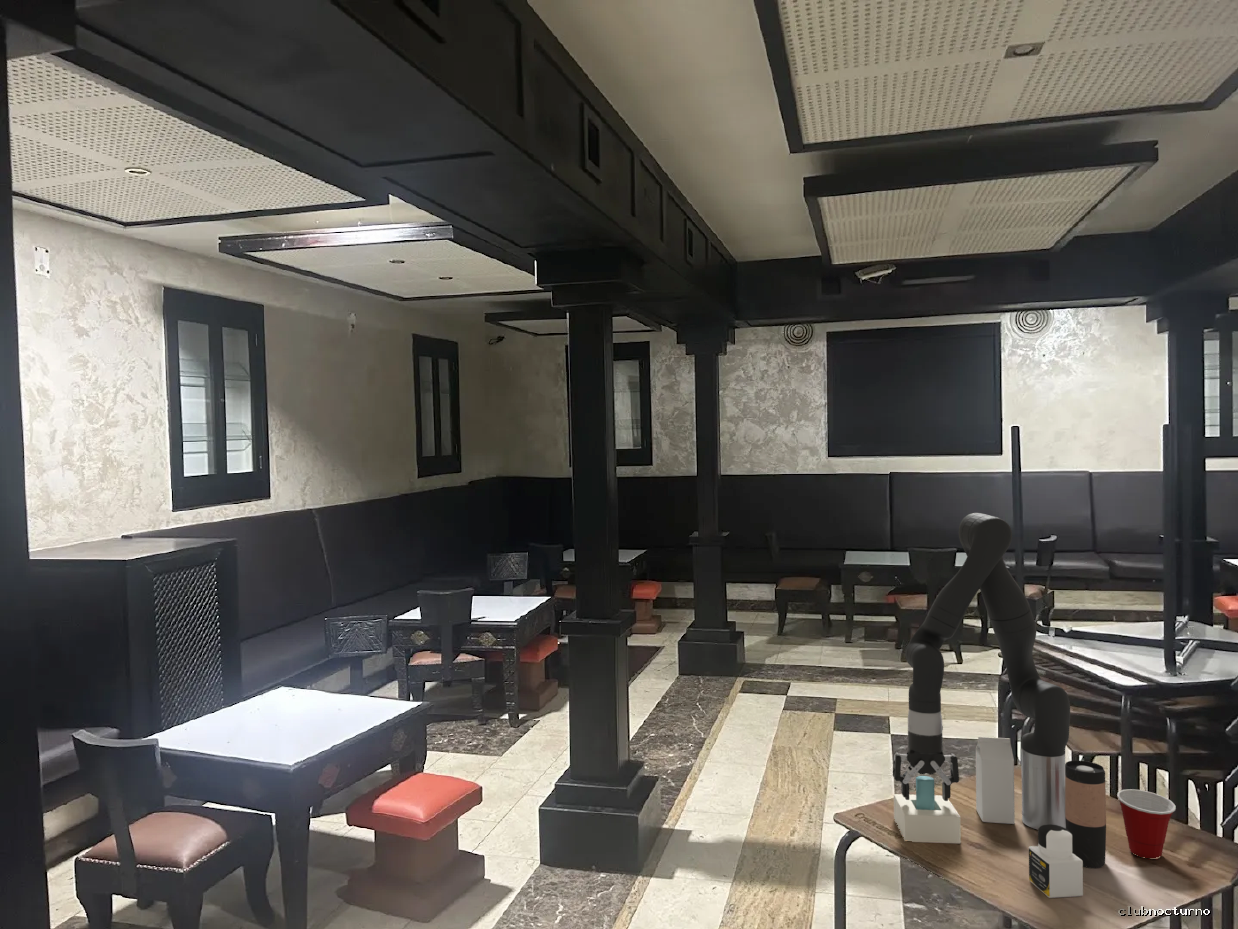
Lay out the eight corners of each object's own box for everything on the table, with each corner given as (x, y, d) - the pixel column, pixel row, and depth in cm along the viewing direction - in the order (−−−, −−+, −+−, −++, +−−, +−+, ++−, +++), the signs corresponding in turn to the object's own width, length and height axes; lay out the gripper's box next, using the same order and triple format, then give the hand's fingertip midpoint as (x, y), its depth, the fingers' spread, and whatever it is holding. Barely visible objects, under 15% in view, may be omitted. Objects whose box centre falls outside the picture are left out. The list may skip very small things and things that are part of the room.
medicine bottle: (1028, 881, 174) (1027, 822, 174) (1061, 879, 174) (1061, 820, 174) (1048, 899, 167) (1048, 837, 167) (1083, 896, 167) (1083, 835, 167)
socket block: (946, 821, 203) (945, 795, 203) (960, 843, 191) (960, 816, 191) (893, 819, 204) (893, 794, 204) (905, 841, 192) (904, 814, 192)
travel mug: (1057, 856, 184) (1056, 763, 184) (1082, 849, 187) (1081, 758, 187) (1089, 872, 177) (1088, 775, 177) (1115, 864, 180) (1114, 769, 180)
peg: (932, 827, 199) (931, 776, 199) (936, 835, 195) (936, 782, 195) (914, 827, 200) (914, 775, 200) (918, 834, 196) (918, 782, 196)
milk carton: (1014, 824, 200) (1013, 743, 200) (982, 822, 202) (981, 742, 202) (1007, 812, 207) (1006, 734, 207) (976, 810, 209) (975, 732, 209)
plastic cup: (1152, 870, 178) (1152, 812, 178) (1105, 848, 188) (1105, 793, 188) (1188, 860, 182) (1188, 804, 182) (1140, 839, 192) (1140, 786, 192)
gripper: (952, 724, 200) (953, 794, 200) (889, 723, 202) (890, 792, 202) (961, 735, 193) (962, 807, 193) (896, 733, 194) (897, 805, 195)
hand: (925, 799), depth 198 cm, fingers open, 8 cm apart
